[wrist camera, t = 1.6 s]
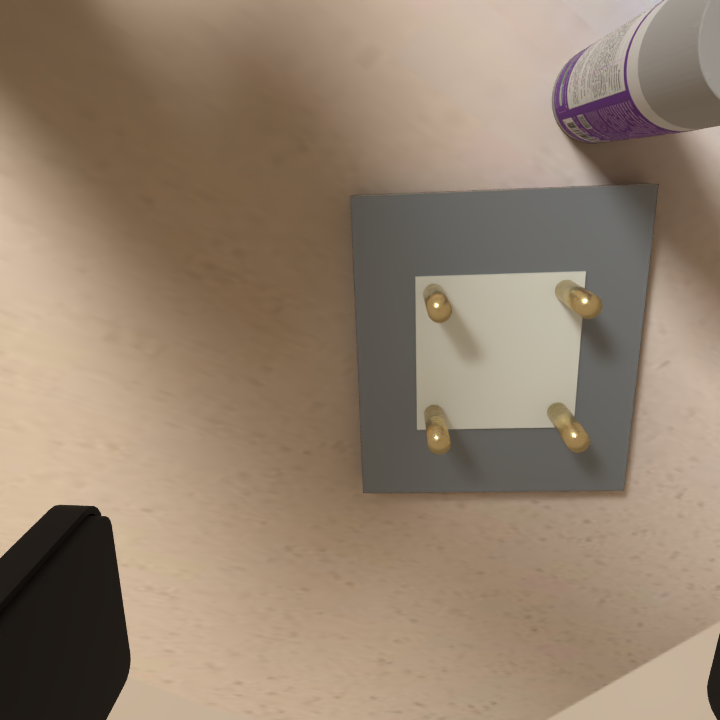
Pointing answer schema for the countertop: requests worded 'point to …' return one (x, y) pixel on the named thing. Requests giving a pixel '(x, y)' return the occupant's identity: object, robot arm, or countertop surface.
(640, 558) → the countertop surface
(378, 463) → the plate
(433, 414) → the standoffs
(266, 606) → the countertop surface
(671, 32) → the container
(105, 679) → the robot arm
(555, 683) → the countertop surface
